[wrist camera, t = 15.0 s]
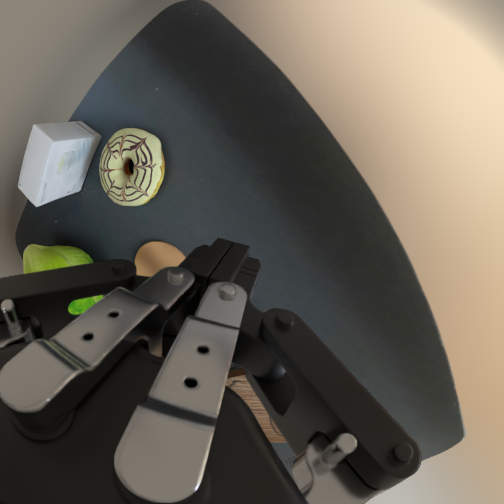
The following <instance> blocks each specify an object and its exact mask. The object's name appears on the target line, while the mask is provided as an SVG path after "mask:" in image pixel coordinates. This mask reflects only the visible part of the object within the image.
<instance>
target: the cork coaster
mask: <svg viewBox="0 0 504 504" xmlns="http://www.w3.org/2000/svg"><path fill="white" fill-rule="evenodd" d="M185 258H186V257H185V256H184V255H183V253H182V252H181V251H180V250H178V249H177V248H176V247H174V246H173V245H171V244H169V243H166V242H163V241H152V242H148V243H146V244H145V245H143V246H142V247H141V248H140V249H139V251H138V252H137V255H136V258H135V265H136V268H137V275H141V276H149V277H151V276H153V275H154V274H155V273H156V272H158V271H159V270H160V269H162V268H165V267H171V266H176V267H177V266H178V265H179V264H180V263H181V262H182V261H183V260H184V259H185Z"/></svg>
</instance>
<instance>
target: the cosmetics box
mask: <svg viewBox="0 0 504 504" xmlns="http://www.w3.org/2000/svg"><path fill="white" fill-rule="evenodd" d="M101 137H102V136H101V135H100V134H98V133H97V132H95V131H94V130H92V129H91V128H90V127H89V126H87V125H86V124H85V123H83V122H82V121H75V122H55V123H41V124H34V125H33V128H32V132H31V134H30V138H29V141H28V145H27V148H26V152H25V156H24V160H23V165H22V169H21V173H20V178H19V183H18V188H19V189H20V190H21V191H22V192H23V194H25V196H26V197H27V198H28V199H29V200H30V201H31V202H32V203H33V204H34V205H35V206H36V207H38V206H41V205H43V204H46V203H48V202H51V201H53V200H56V199H59V198H61V197H64V196H67V195H70V194H73V193H76V192H79V191H80V190H81V188H82V185H83V182H84V179H85V176H86V174H87V171H88V169H89V166H90V163H91V161H92V158H93V156H94V154H95V151H96V149H97V146H98V144H99V142H100V140H101Z"/></svg>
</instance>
